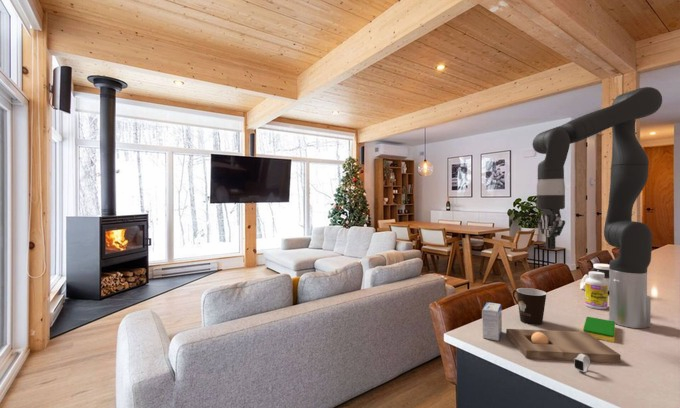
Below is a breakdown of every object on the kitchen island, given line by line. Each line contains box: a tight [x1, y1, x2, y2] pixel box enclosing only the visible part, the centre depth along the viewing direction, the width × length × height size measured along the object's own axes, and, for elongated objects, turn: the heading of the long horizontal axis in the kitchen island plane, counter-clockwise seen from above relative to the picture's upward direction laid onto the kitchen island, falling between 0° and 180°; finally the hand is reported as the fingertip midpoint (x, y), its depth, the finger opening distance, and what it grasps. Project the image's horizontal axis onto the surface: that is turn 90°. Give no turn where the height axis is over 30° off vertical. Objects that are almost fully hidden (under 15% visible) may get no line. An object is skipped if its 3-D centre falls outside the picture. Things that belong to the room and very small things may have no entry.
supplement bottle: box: [584, 270, 609, 310], centre depth 122 cm, size 7×7×13 cm
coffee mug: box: [512, 287, 547, 326], centre depth 111 cm, size 12×9×10 cm
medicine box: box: [481, 302, 503, 341], centre depth 99 cm, size 8×4×9 cm, turn 148°
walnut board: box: [505, 328, 621, 364], centre depth 90 cm, size 22×14×2 cm, turn 82°
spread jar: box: [579, 263, 610, 295], centre depth 142 cm, size 12×11×12 cm
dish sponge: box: [582, 316, 616, 343], centre depth 101 cm, size 7×14×2 cm, turn 140°
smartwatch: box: [573, 354, 591, 373], centre depth 78 cm, size 4×2×4 cm, turn 118°
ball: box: [531, 332, 548, 344], centre depth 91 cm, size 4×4×4 cm
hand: (550, 248), depth 104 cm, fingers closed
